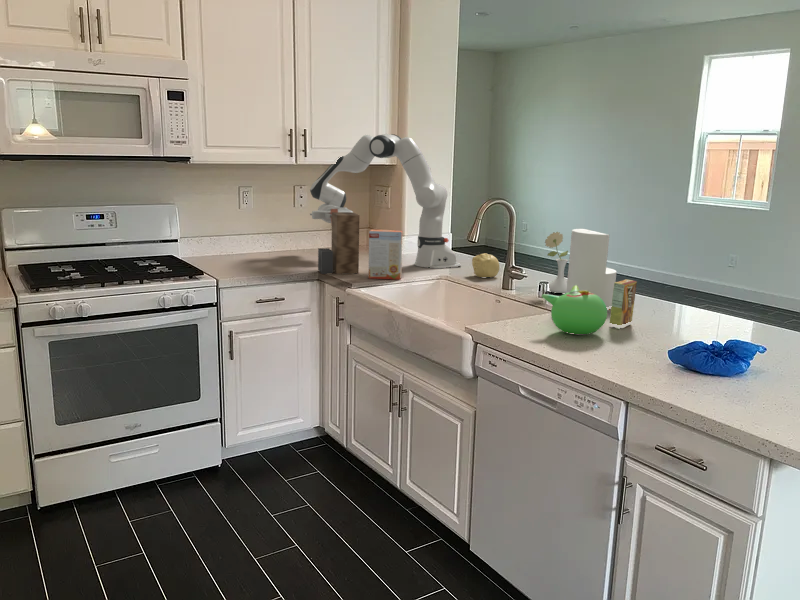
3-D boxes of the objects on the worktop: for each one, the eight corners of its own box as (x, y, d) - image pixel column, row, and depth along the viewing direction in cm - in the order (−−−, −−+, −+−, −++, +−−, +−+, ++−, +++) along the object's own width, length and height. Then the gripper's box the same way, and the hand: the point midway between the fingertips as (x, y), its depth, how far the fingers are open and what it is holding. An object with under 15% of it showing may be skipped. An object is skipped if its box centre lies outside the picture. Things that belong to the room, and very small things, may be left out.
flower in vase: (570, 290, 280) (575, 230, 274) (576, 296, 268) (582, 234, 263) (538, 289, 280) (543, 229, 274) (543, 295, 269) (548, 233, 263)
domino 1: (328, 270, 307) (329, 248, 305) (329, 270, 306) (329, 248, 303) (318, 270, 306) (318, 248, 303) (318, 270, 304) (318, 249, 302)
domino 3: (331, 272, 301) (332, 250, 298) (332, 273, 299) (332, 251, 297) (320, 273, 299) (320, 250, 297) (321, 273, 298) (321, 251, 296)
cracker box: (401, 277, 295) (403, 230, 290) (400, 280, 289) (401, 231, 284) (369, 276, 296) (371, 228, 292) (367, 278, 290) (369, 230, 286)
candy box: (620, 322, 230) (625, 278, 226) (632, 325, 227) (637, 280, 224) (608, 327, 223) (613, 282, 220) (620, 330, 221) (625, 284, 217)
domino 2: (330, 271, 304) (330, 249, 302) (331, 272, 302) (331, 250, 300) (319, 271, 303) (319, 249, 300) (320, 272, 301) (320, 250, 299)
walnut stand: (352, 268, 313) (353, 212, 307) (358, 273, 301) (359, 215, 295) (331, 269, 310) (331, 212, 304) (336, 273, 298) (337, 215, 293)
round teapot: (578, 344, 203) (582, 296, 200) (536, 330, 216) (540, 286, 213) (615, 336, 213) (620, 290, 210) (573, 323, 227) (577, 281, 223)
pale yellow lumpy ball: (467, 275, 306) (468, 251, 304) (490, 274, 310) (492, 250, 308) (479, 280, 296) (480, 255, 293) (503, 278, 300) (504, 255, 298)
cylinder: (580, 312, 243) (588, 234, 237) (556, 301, 260) (563, 228, 253) (622, 310, 248) (630, 234, 242) (596, 299, 264) (603, 228, 258)
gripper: (309, 207, 331) (313, 209, 318) (349, 207, 337) (355, 209, 324) (309, 220, 333) (313, 223, 320) (349, 220, 338) (355, 222, 325)
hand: (335, 216), depth 322 cm, fingers closed on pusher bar, 3 cm apart
